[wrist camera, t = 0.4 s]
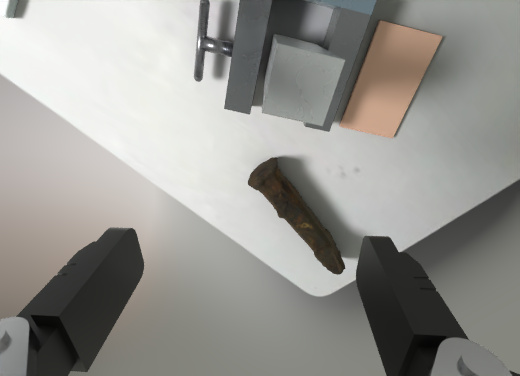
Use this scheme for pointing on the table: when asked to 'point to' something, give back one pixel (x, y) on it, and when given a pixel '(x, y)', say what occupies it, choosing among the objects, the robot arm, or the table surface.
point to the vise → (252, 40)
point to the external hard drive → (8, 8)
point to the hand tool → (296, 213)
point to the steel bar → (300, 80)
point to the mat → (388, 78)
